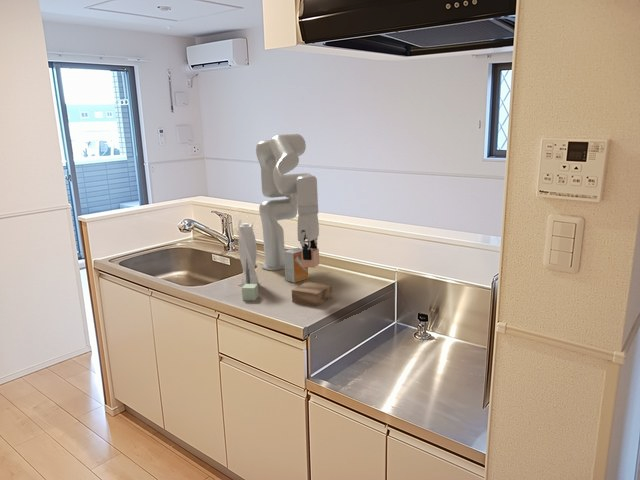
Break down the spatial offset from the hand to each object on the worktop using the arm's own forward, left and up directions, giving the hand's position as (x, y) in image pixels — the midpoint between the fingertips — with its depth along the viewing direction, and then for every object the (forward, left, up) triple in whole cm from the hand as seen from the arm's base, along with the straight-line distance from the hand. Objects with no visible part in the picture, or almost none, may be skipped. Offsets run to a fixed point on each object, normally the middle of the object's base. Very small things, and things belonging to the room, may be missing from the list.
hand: (310, 257), depth 188 cm
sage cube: (+5, -24, -17) cm, 30 cm away
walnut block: (0, 0, -17) cm, 17 cm away
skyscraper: (-10, -33, -17) cm, 39 cm away
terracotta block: (0, 0, -3) cm, 3 cm away
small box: (-21, -16, -17) cm, 31 cm away
